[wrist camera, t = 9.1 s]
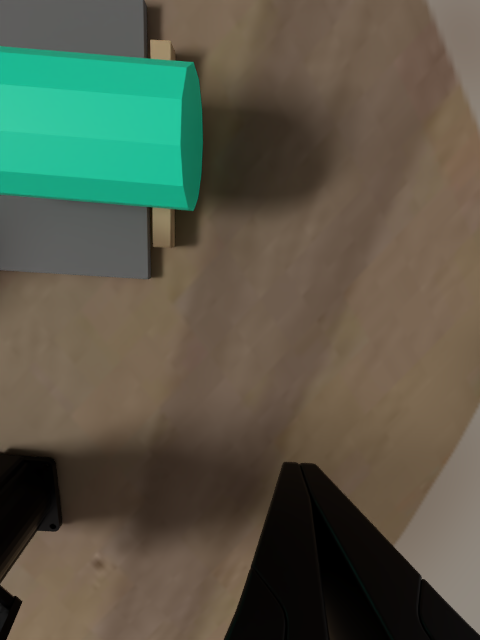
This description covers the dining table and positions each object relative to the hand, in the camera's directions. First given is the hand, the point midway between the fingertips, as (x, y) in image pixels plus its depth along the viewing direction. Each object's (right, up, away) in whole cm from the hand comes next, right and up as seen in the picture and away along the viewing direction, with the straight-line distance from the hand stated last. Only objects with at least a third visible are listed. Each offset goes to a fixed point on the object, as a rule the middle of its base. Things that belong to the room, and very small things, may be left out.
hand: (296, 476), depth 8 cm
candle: (-3, +12, +6) cm, 14 cm away
